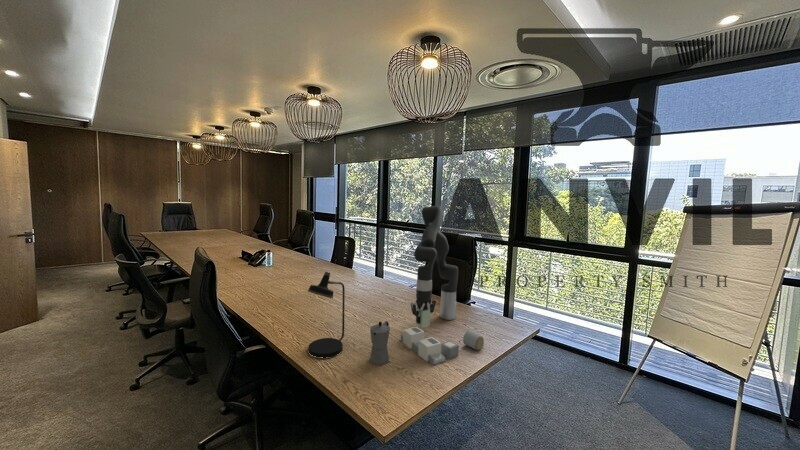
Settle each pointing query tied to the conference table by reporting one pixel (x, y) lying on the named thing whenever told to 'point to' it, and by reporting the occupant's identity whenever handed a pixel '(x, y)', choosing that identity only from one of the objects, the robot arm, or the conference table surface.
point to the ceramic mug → (473, 340)
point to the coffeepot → (379, 343)
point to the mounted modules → (421, 342)
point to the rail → (431, 359)
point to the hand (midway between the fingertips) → (422, 322)
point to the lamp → (335, 346)
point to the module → (424, 318)
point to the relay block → (449, 349)
